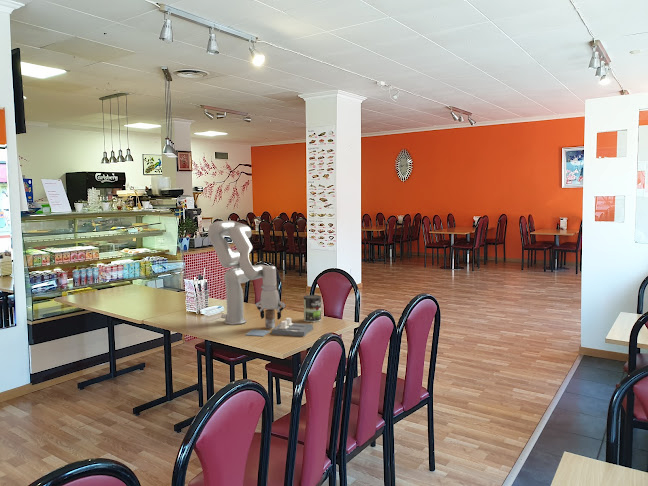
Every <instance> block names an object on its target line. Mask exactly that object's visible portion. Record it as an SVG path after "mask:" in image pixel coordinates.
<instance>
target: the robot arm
mask: <svg viewBox="0 0 648 486" xmlns="http://www.w3.org/2000/svg"><path fill="white" fill-rule="evenodd" d="M207 235H208V239H209V242H210V243H211V245H212V247H213V249H214V252H215V253H216V257H217V258H218V260H219V263H220V265H221V266H222V267H223V268H230V269H227V270H226V271H225V272H224V274H223V275H224V277H223V279H224V283H225V290H226V291H225V293H226V314H222V313H221V316H220V317H221V319H225V320H224V324H226V325H235V326H237V325H243V324H245V323H247V319H246V318H245V317H244V315H245V314H244V313H245V312H244V291H243V288H242V285H241V284H245V283H247V282H249V281H255V280H258V279H262V285H261V286H260V289H262V290H261V291H260V293H261V294H260V301H257V302H255V306H256V308H257V309H258V311H259V312H260V313H259V315H260V319H261V320H262V319H265V310H267V309H275V311H277V312H276V315H277V317H276V318H277V320H278V321H279V320H280V319H281V318H282V311H283V310H284V309H285V306H286V303H284V302H282V301H280V294H279V291H278V290H277V267H276V266H274V265H265V264H256V265H252V262H251V261H250V253H251V252H252V251H253V248H254V247H253V245H252V243H251V241H250V238H251V237H252V229H251V227H249V226H248V225H247V224H245V223H241V222H238V221H235V220H220V221H219V220H217V221H214V222H212V223H211V224H210V225H209V227H208V231H207ZM224 236H229V237H230V238H229V239H231V241H232V243H233V245H234V246H235V248H236V249H234V250H233V249H232V248H231V246H230V245H229V241H227V240H226V238H224ZM233 267H234V268H233ZM280 306H281V307H280Z"/></svg>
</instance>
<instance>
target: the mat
mask: <svg viewBox="0 0 648 486" xmlns="http://www.w3.org/2000/svg"><path fill="white" fill-rule="evenodd" d="M270 332H271V330H269V329H267V330H266V329H251V330H250V331H248V332H246V333H245V334H244V335H245V336H249V337H250V336H251V337H264V336H266V335H267V334H269V333H270Z"/></svg>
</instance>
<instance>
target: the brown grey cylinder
mask: <svg viewBox="0 0 648 486" xmlns="http://www.w3.org/2000/svg"><path fill="white" fill-rule="evenodd" d="M275 311H276V309H264V321H265V322H264V323H265V326H264V327H265V329H270V328H271V329H270V330H272V328H275V327H276V322H275V321H276V317H275V316H276V313H275Z"/></svg>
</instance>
